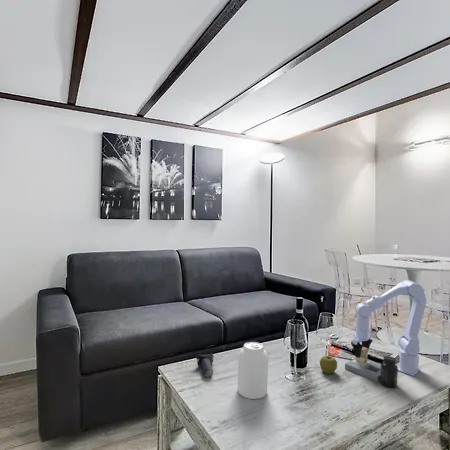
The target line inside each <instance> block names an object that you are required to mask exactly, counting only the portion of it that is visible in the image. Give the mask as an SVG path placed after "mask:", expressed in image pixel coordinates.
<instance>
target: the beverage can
mask: <svg viewBox="0 0 450 450" xmlns="http://www.w3.org/2000/svg"><path fill="white" fill-rule="evenodd" d="M214 357H215V355H214V353H213V352H210V353H207V354H201V353H199V354H197V355H195V359H196V362H197V367H198V368H201V369H202V371H203V375H204V376H205V377H206V378H211V377H212V376H213V374H214V369H213V365H214V364H213V362H214Z"/></svg>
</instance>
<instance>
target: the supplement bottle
mask: <svg viewBox="0 0 450 450" xmlns="http://www.w3.org/2000/svg"><path fill="white" fill-rule="evenodd" d="M380 364H381V374H380V381H379V382H380V384H381V385H382V386H383V387H386V388H388V389H389V388H390V389H395V388H397V386H398V374H399V373H398V372H399V371H398V367H399V366H398V365H397V360H396V358H395V357H393V356H389V355H386V356H384V357H383V361H382V362H381V363H380Z"/></svg>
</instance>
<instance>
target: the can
mask: <svg viewBox="0 0 450 450" xmlns="http://www.w3.org/2000/svg"><path fill="white" fill-rule="evenodd" d="M237 356H238V357H237V358H238V362H237V371H238V372H237V391H238V394H239V395H241V396H242V397H243V398H245V399H250V400H251V399H252V400H258V399H262V398H264V397H265V396H266V395H267V393H268V377H269V375H268V374H269V354H268V352H267V351H266V350H265V348H264V344H262V343H260V342H257V341H250V342H249V341H248V342H245V343H244V344H243V345H242V348H241V350H239V352H238V355H237Z"/></svg>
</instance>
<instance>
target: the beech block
mask: <svg viewBox="0 0 450 450" xmlns="http://www.w3.org/2000/svg"><path fill="white" fill-rule="evenodd" d="M368 352H369V350H368V348H365V347H362V350H361V355H360V358H358V357H355V358H356V361H355V362H358V363H361V364H365V363H367V359H368V356H369V355H368V354H369V353H368Z"/></svg>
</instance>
